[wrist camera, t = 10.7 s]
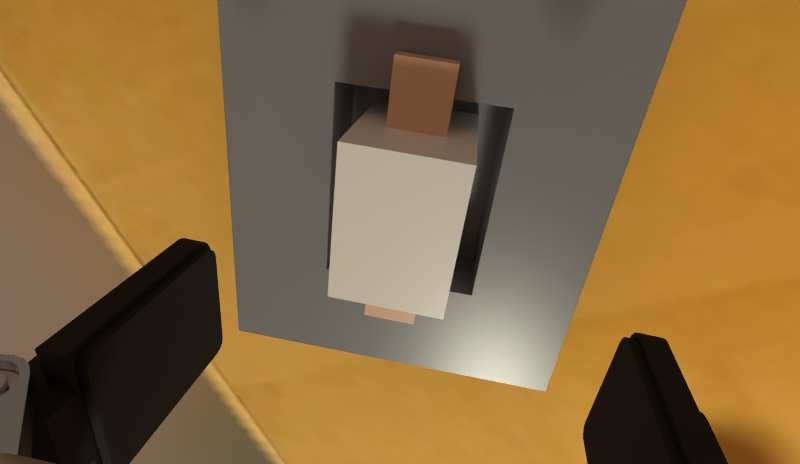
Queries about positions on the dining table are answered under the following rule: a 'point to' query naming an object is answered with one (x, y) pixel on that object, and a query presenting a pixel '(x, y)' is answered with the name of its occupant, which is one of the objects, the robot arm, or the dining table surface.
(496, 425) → the dining table surface
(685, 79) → the dining table surface
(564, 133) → the block
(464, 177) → the block
